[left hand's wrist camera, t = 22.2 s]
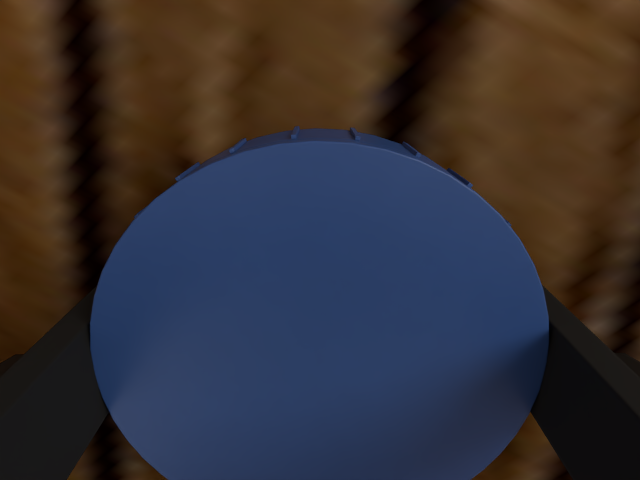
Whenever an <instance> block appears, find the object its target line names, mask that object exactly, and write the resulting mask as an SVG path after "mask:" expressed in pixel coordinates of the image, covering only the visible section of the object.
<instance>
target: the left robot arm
mask: <svg viewBox="0 0 640 480" xmlns="http://www.w3.org/2000/svg"><path fill="white" fill-rule="evenodd" d="M542 287H543V291H544V296H545V301H546V306H547V311H548V318H549V348H548V356H547V363H546V368H545V372H544V376H543V380H542V383H541V387H540V390H539V393H538V395H537V397H536V399H535V402H534V404H533V406H532V408H531V411H530V412H531V413H532V415H533V416H534V418H535V420H536V421H537V423H538V424H539V426H540V428H541V429H542V431H543V432H544V434H545V436H546V437H547V439H548V440H549V442H550V444H551V445H552V447H553V448H554V450H555V452H556V453H557V455H558V456H559V458H560V460H561V461H562V463H563V464H564V466H565V468H566V469H567V471H568V472H569V474H570V476H571V477H572V479H573V480H640V362H639V361H637V360H636V359H634V358H632V357H630V356H629V355H627V354H625V353H613V352H612V351H611V350H610V349H609V348H608V347H607V346H606V345H605V344H604V343H603V342H602V341H601V340H600V339H599V338H598V337H597V336H595V335H594V334H593V333H592V332H591V331H590V330H589V329H588V328H587V327H586V326H585V325H584V324H583V323H582V322H581V321H580V320H579V319H577V318H576V317H575V316H574V315H573V314H572V313H571V312H570V311H569V310H568V309H567V308H566V307H565V306H564V305H563V304H562V303H561V302H559V301H558V300H557V299H556V298H555V297H554V296H553V295H552V294H551V293H550V292H549V291H548V290H547V289H546V288H545V287H544V286H543V285H542ZM96 288H97V286H96V287H95V288H94V289H93V290H92V291H91V292H90V293H89V294H88V295H86V296H85V297H84V298H83V299H82V300H81V301H80V302H79V303H78V304H77V305H76V306H75V307H74V308H73V309H72V310H71V311H70V312H68V313H67V314H66V315H65V316H64V317H63V318H62V319H61V320H60V321H59V322H58V323H57V324H56V325H55V326H54V327H53V328H52V329H50V330H49V331H48V332H47V333H46V334H45V335H44V336H43V337H42V338H41V339H40V340H39V341H38V342H37V343H36V344H35V345H34V346H32V347H31V348H30V349H29V350H28V351H27V352H26V353H25V354H24V355H14V356H12V357H11V358H9V359H7V360H5V361H4V362H2V363H0V480H67V478H68V477H69V475H70V473H71V472H72V470H73V469H74V467H75V465H76V464H77V462H78V461H79V459H80V457H81V456H82V454H83V453H84V451H85V449H86V448H87V446H88V445H89V443H90V441H91V440H92V438H93V437H94V435H95V433H96V432H97V430H98V429H99V427H100V425H101V424H102V422H103V421H104V419H105V417H106V416H107V414H108V413H109V410H108V408H107V406H106V404H105V402H104V400H103V398H102V395H101V392H100V389H99V386H98V383H97V379H96V375H95V371H94V366H93V362H92V357H91V351H90V319H91V312H92V306H93V299H94V295H95V291H96Z"/></svg>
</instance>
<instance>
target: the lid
mask: <svg viewBox="0 0 640 480" xmlns="http://www.w3.org/2000/svg"><path fill="white" fill-rule="evenodd" d="M175 179H176V180H177V183H175V184H174V185H173V186H171V187H170V188H169V189H167V190H166V191H165V192H163V193H162V194H161V195H159V196H158V197H157V198H155V199H154V200H153V201H152V202H151V203H150V204H149V205H148V206H147V207H145V208H144V209H143V210H141V211H140V212H139V213H137V214H136V215H135V216H134V218H135V219H134V220H133V221H132V223H131V224H130V225H129V227H128V228H127V229H126V231H125V232H124V234H123V235H122V236H121V238H120V239H119V240H118V242H117V243H116V245H115V246H114V248H113V250H112V252H111V254H110V256H109V258H108V260H107V262H106V264H105V266H104V268H103V270H102V273H101V276H100V279H99V282H98V285H97V288H96V291H95V295H94V299H93V306H92V312H91V319H90V351H91V357H92V362H93V366H94V371H95V375H96V379H97V383H98V386H99V389H100V392H101V395H102V398H103V400H104V402H105V404H106V406H107V408H108V410H109V412H110V414H111V416H112V418H113V420H114V422H115V423H116V425H117V426H118V427H119V429H120V430H121V432H122V433H123V435H124V436H125V438H126V439H127V441H128V442H129V443H130V444H131V445H132V446H133V447H134V448H135V450H136V451H137V452H138V453H139V454H140V455H141V456H142V458H143V459H145V460H146V461H147V462H148V463H149V464H150V465H151V466H152V467H153V468H155V469H156V470H157V471H158V472H159V473H160V474H161V475H163V476H164V477H166V478H167V479H168V480H470V479H472V478H473V477H474V476H476V475H477V474H478V473H480V472H481V471H482V470H484V469H485V468H486V467H487V466H488V465H489V464H490V463H491V462H492V461H493V460H494V459H495V458H496V457H497V456H498V455H499V454H500V453H501V452H502V451H503V450H504V448H505V447H506V446H507V445H508V444H509V442H510V441H511V440H512V439H513V438H514V436H515V435H516V434H517V432H518V431H519V429H520V427H521V426H522V424H523V423H524V421H525V419H526V418H527V416H528V415H529V413H530V411H531V408H532V406H533V404H534V402H535V399H536V397H537V395H538V393H539V390H540V387H541V383H542V380H543V376H544V372H545V368H546V363H547V356H548V348H549V318H548V311H547V306H546V301H545V296H544V291H543V287H542V285H541V282H540V279H539V276H538V274H537V271H536V268H535V266H534V263H533V261H532V260H531V258H530V256H529V254H528V252H527V251H526V249H525V247H524V245H523V244H522V242H521V240H520V238H519V237H518V236H517V235H516V233H515V232H514V231H513V230H512V228H511V227H510V226H511V224H510V223H509V222H508V221H507V220H505V219H504V218H503V217H502V216H501V215H500V214H499V213H498V212H497V211H496V210H495V209H494V208H493V207H492V206H491V205H490V204H489V203H488V202H486V201H485V200H484V199H483V198H482V197H481V196H480V195H479V194H478V193H477V192H475V191H474V190H472V189H471V187H472V186H473V185H472V184H471V183H470V182H468V181H467V180H465V179H464V178H463V177H461V176H460V175H458V174H457V173H455V172H454V171H453V170H451V169H450V168H448V169H447V171H446V170H445V169H444V168H442V167H441V166H439V165H438V164H436V163H435V162H433V161H432V160H430V159H429V158H427V157H426V156H424V155H422V154H420V153H419V152H418V151H416V150H415V149H414V148H412V147H411V146H410V145H409V144H407V143H405V142H403V143H402V144H399V143H396V142H393V141H390V140H387V139H384V138H381V137H378V136H375V135H370V134H364V133H359V132H357V131H356V129H355V128H350V131H348V130H337V129H317V128H315V129H303V130H300V129H299V126H296V127H295V128H294V130H292V131H284V132H279V133H275V134H270V135H266V136H261V137H257V138H255V139H252V140H249V141H246V138H244V139H242V140H240V141H239V142H238V143H237V144H235V145H234V146H233V147H231V148H229V149H227V150H225V151H223V152H221V153H219V154H218V155H216V156H214V157H212V158H210V159H208V160H207V161H205V162H204V163H202V164H201V165H200V164H199V162H198V163H196V164H195V165H193V166H192V167H190V168H189V169H188V170H186V171H185V172H183V173H182V174H180V175H179V176H178V177H176V178H175Z"/></svg>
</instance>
